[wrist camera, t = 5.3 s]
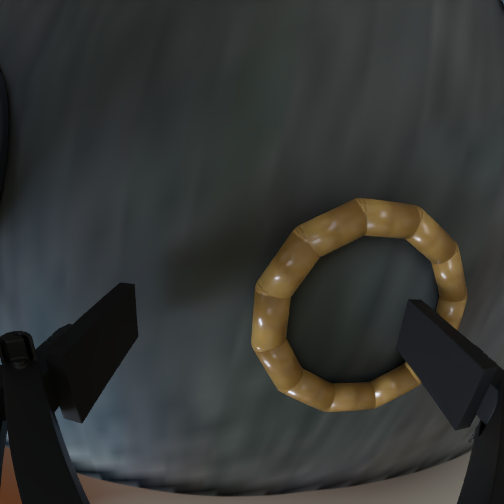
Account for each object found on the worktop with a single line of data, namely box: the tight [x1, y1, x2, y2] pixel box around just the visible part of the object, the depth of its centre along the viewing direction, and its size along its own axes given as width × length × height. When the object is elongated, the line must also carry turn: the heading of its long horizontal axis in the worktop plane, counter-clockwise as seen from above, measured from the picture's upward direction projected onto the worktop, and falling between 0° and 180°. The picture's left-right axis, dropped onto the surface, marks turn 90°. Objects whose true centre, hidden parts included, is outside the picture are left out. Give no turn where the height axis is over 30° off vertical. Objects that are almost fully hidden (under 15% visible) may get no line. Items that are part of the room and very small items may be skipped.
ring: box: [251, 198, 468, 412], centre depth 14 cm, size 11×11×2 cm
